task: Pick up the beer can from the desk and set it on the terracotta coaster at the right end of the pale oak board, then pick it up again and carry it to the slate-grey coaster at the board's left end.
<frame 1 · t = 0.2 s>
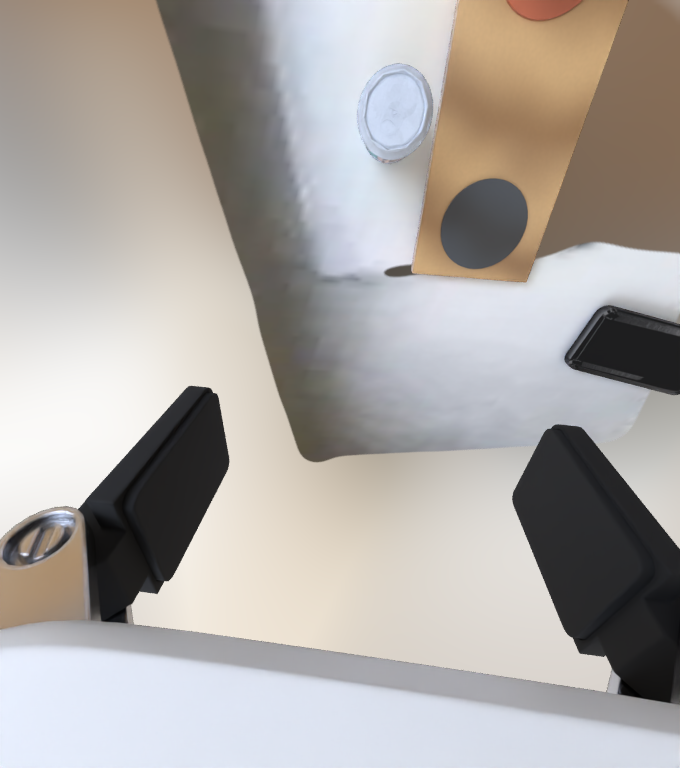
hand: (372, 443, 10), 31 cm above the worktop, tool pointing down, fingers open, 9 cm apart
beer can: (389, 132, 30), on the worktop
phone: (638, 350, 39), on the worktop
board: (508, 110, 29), on the worktop
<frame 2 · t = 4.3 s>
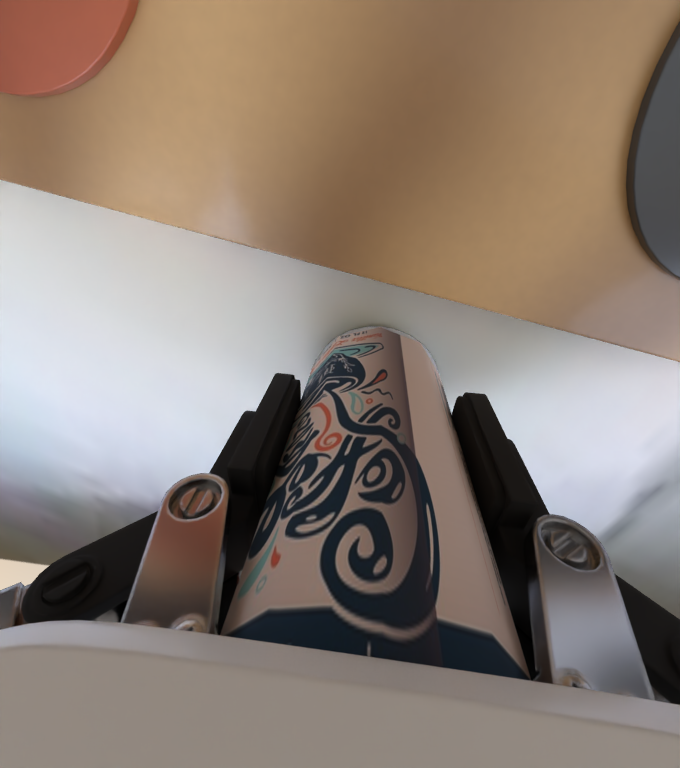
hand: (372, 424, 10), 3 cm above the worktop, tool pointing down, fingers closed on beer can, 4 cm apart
beer can: (373, 375, 13), on the worktop, touching gripper
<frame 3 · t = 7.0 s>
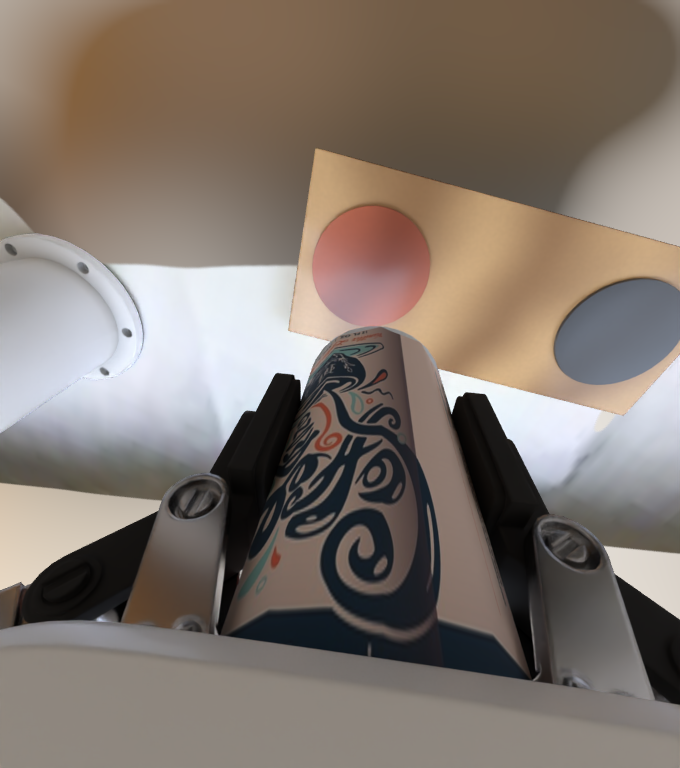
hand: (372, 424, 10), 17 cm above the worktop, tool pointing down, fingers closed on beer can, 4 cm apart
beer can: (374, 375, 13), point 14 cm above the worktop, touching gripper
board: (488, 296, 24), on the worktop
when the fingers open (5 cm above the worktop, at t = 10.2 s): beer can stays where it is, resting on board.
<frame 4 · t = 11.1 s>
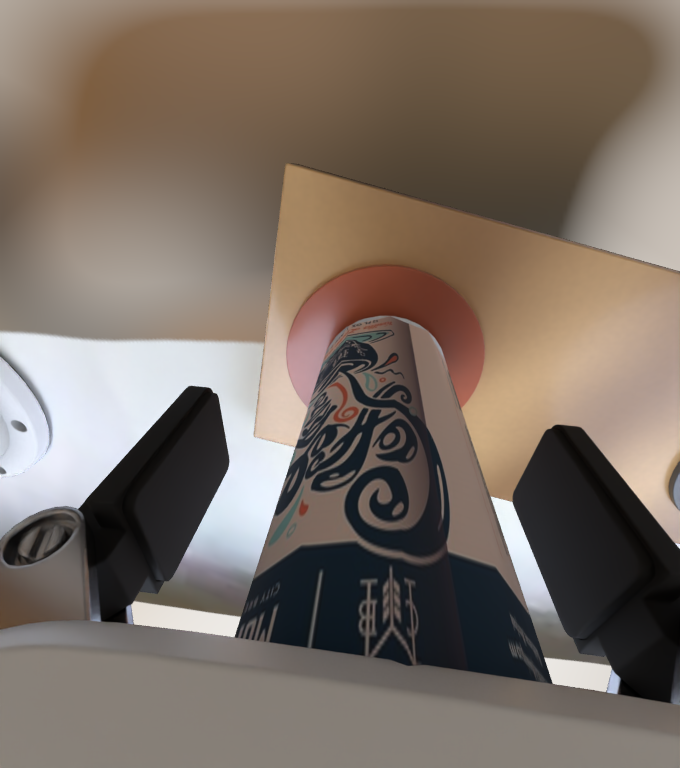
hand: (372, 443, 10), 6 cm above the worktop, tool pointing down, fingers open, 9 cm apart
beer can: (382, 364, 14), point 2 cm above the worktop, touching board
board: (568, 396, 15), on the worktop
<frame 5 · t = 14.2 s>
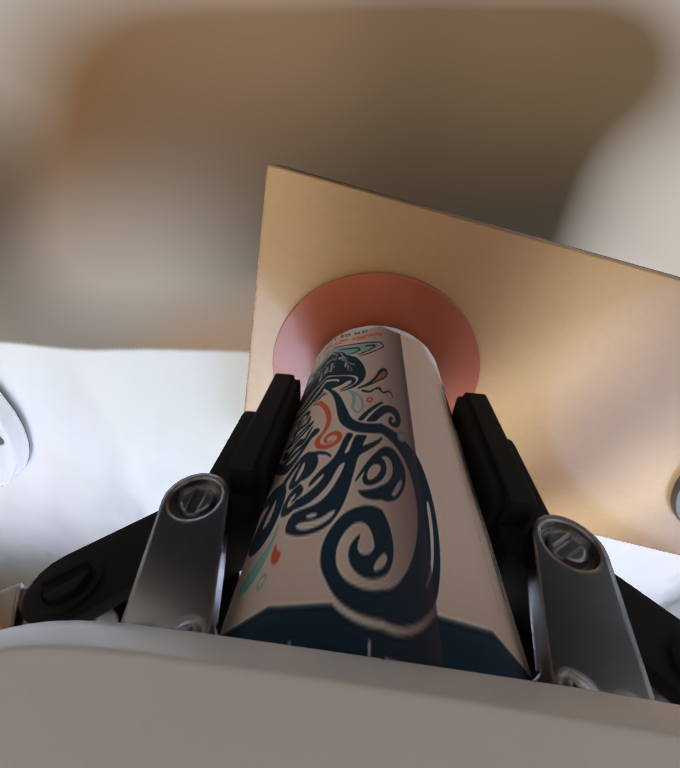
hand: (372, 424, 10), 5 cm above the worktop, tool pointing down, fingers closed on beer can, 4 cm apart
beer can: (374, 375, 13), point 2 cm above the worktop, touching board, gripper
board: (566, 406, 15), on the worktop
when the fingers open (5 cm above the worktop, at t = 20.9 s): beer can stays where it is, resting on board.
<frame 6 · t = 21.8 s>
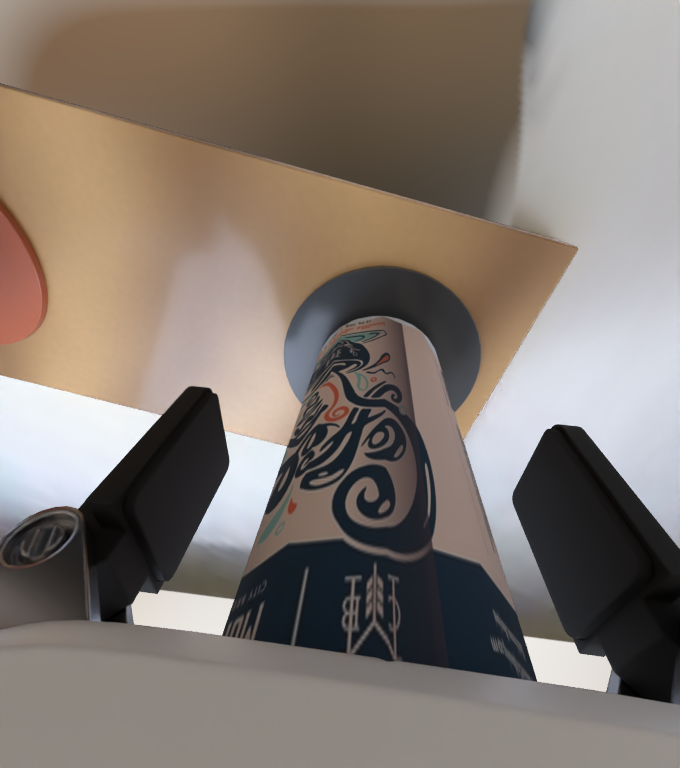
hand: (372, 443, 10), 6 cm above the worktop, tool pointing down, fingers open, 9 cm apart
beer can: (377, 364, 14), point 2 cm above the worktop, touching board
board: (185, 297, 15), on the worktop
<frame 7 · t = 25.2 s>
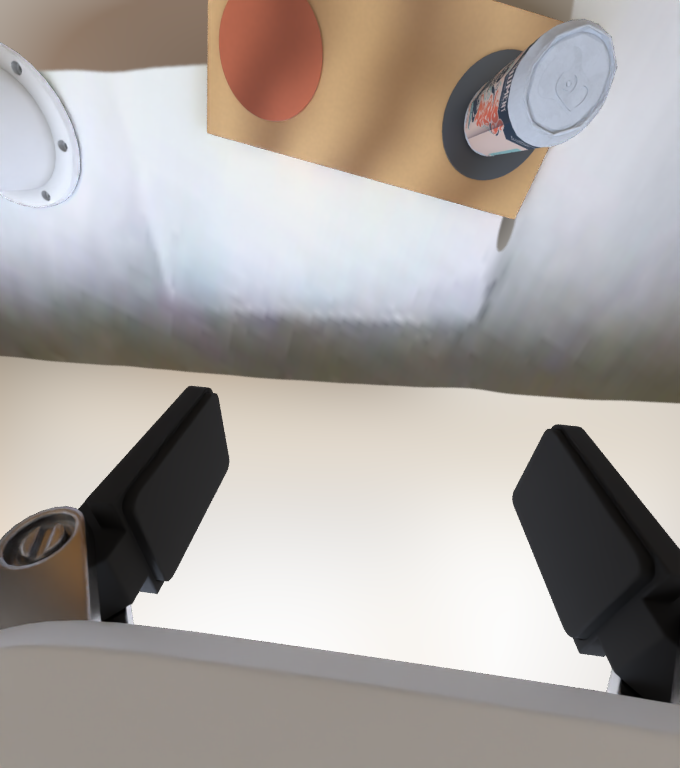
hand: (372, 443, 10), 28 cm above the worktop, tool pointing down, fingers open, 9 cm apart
beer can: (493, 119, 26), point 2 cm above the worktop, touching board
board: (384, 92, 27), on the worktop
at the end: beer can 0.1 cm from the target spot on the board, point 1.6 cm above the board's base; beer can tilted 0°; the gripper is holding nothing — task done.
